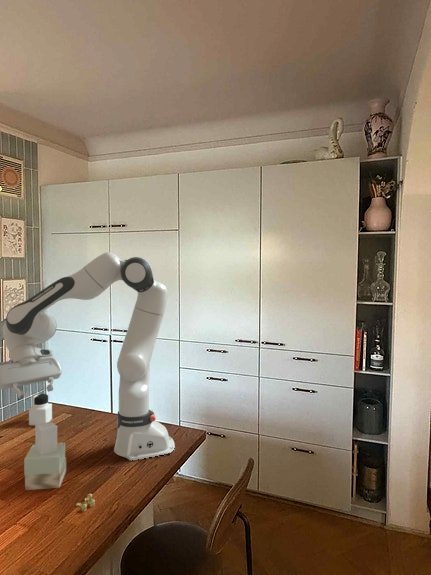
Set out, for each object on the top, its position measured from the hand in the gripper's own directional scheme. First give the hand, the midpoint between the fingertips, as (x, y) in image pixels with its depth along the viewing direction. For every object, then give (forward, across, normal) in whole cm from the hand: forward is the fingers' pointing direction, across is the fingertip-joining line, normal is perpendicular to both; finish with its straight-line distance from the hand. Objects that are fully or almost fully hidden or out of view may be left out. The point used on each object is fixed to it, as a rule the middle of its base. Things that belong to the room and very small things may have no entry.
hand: (36, 393), depth 130 cm
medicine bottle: (-8, +16, +45) cm, 49 cm away
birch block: (+25, 0, +12) cm, 28 cm away
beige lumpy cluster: (+40, +3, -2) cm, 40 cm away
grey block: (+18, 0, +5) cm, 18 cm away
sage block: (+21, 0, +9) cm, 23 cm away
